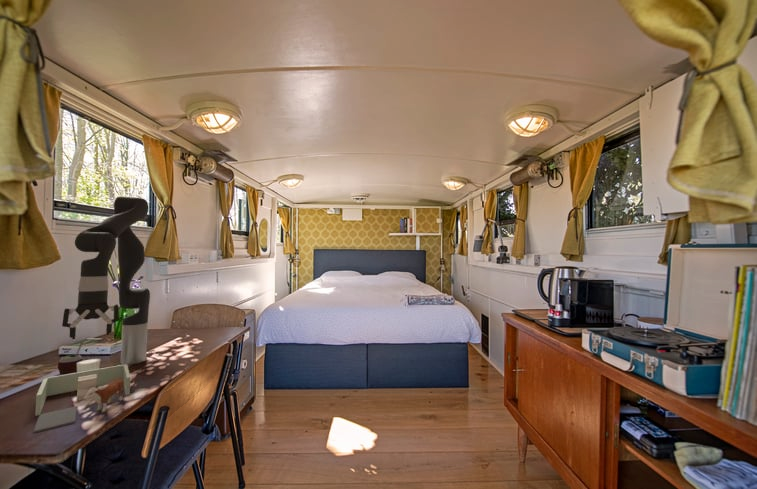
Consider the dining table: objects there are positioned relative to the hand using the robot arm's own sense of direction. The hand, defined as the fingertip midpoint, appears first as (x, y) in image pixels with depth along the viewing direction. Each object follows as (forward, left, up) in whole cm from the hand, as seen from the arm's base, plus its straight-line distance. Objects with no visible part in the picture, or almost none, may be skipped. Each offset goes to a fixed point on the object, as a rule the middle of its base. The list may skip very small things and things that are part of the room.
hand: (91, 336), depth 107 cm
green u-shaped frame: (-1, 0, -20) cm, 20 cm away
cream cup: (-20, 0, -20) cm, 29 cm away
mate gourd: (-29, -5, -20) cm, 36 cm away
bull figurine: (+15, +4, -20) cm, 25 cm away
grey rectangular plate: (+15, -6, -20) cm, 26 cm away
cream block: (0, 0, -20) cm, 20 cm away
